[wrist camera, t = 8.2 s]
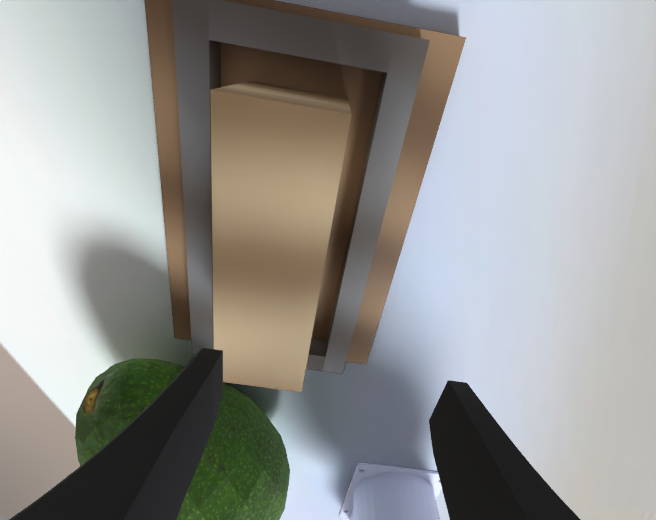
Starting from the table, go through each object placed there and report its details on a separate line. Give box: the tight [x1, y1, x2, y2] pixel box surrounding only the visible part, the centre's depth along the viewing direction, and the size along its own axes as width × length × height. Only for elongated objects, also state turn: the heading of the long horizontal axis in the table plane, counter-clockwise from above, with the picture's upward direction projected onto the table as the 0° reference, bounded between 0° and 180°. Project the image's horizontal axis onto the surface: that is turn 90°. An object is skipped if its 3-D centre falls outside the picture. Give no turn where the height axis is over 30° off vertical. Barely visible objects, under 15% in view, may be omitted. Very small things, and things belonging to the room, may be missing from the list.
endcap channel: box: [145, 0, 466, 374], centre depth 17 cm, size 18×12×2 cm
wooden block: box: [210, 81, 352, 392], centre depth 15 cm, size 12×4×5 cm, turn 171°
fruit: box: [75, 359, 290, 520], centre depth 21 cm, size 15×10×10 cm, turn 20°
